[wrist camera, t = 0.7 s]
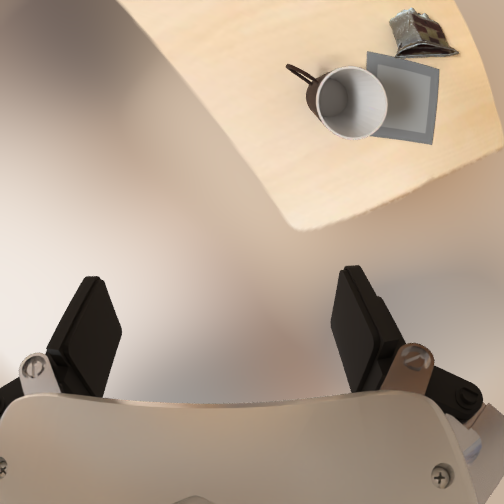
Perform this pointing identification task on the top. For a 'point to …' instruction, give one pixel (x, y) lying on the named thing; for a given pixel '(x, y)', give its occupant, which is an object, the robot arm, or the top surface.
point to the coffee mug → (346, 101)
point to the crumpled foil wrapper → (419, 36)
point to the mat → (406, 97)
